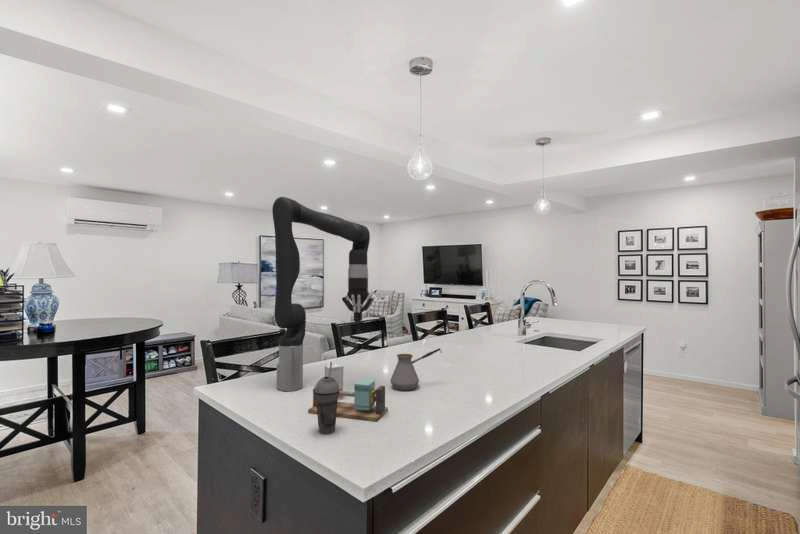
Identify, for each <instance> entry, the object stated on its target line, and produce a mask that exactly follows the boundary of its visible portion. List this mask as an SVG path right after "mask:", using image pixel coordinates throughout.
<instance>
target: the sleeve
mask: <svg viewBox="0 0 800 534" xmlns="http://www.w3.org/2000/svg"><path fill="white" fill-rule="evenodd" d="M375 383H376V382H375V380H368V379H359V380H358V381H356V382H355V383H354V384H353V385H354V391H353V392H354V397H353V398H354V399H353V400H354V409H361V410H370V409H371V408H372V407H373V406H376V401H375V402H374V403H373V404H370V392H371V391H372V390H373V389H376V385H375Z"/></svg>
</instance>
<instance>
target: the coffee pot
mask: <svg viewBox="0 0 800 534" xmlns="http://www.w3.org/2000/svg"><path fill="white" fill-rule="evenodd" d="M437 352H440V353H441V354H443V350H442V349H441V348H440V347H439V348H437V349H434V350H433V351H428V352H427V353H425V354H423V355H422V356H420V357H418V358H416V359H414V360H412V359H413V354H410V353H400V354H398V353H397V355H396V357H397V364H396V365H395V368H394V371H393V373H392V375H391V378H390V384H391V385H392V386H393V387H394V389H396V390H399V391H412V390H414V389H415V388H416V387H417V386H418V385H419V382H420V379H419V377H418V374H417V371H416V370H415V366H414V364H415V363H416V362H417V363H418V361H420V360H423V359H425V358H427V357H430V356H431V355H433V354H435V353H437Z"/></svg>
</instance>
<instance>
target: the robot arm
mask: <svg viewBox="0 0 800 534" xmlns="http://www.w3.org/2000/svg"><path fill="white" fill-rule="evenodd" d="M271 209H272V219H273V220H272V221H273V227H274V228H273V229H274V238H275V239H274V241H275V244H274V245H275V246H274V247H275V273H276V274H275V275H276V277H275V281H276V282H275V303H274V321H275V324H276V325H277V326H278V328H280V329H286V330H285V332H284V333H283V334H282V335H281V336H280V337H279V339H278V363H277V364H276V390H279V391H282V392H294V391H299V390H302V388H303V387H304V384H303V383H304V339H305V336H306V327H307V326H306V325H307V323H306V322H307V315H306V310H305V308H304V306H303V305H302V304H300V303H292V294H293V289H294V286H295V285H296V282H297V280H298V277H299V275H300V271H301V260H300V259H301V257H300V251H299V249H298V245H297V243H296V239H295V237H294V234H293V223H296V224H303V225H306V226H310V227H313V228H315V229H317V230H319V231H322V232H324V233H327V234H330V235H332V236H336V237H340V238H342V239H345V240H346V241H350V242H352V246H351V247H352V249H351V250H349V253H348V270H347V275H348V276H347V277H348V278H347V289H348V291H347V294H346V295H345V296H344V297H343V296H342V297H341V301H342V302H343V303H344V305H345V306H346V308H347V309H348V310H349V311H351V312H352V313H353V321H354V323H357V324H358V323H361V322H362V320H363V312H364V311H367V310H368V309H369V308H370V306H371V305H372V304H373V303H374V301H375V298H374V297H372V296H371V295H370V292H369V289H368V288H369V268H368V251H369V246H370V239H371V234H370V231H369V229H368V227H367V226H365V225H363V224H359V223H356V222H353V221H349V220H346V219H343V218H341V217H339V216H336V215H332V214H329V213H325V212H320V211H316V210H313V209H311V208H309V207H307V206H305V205H303V204H301V203H300V202H298V201H296V200H294V199H292V198H289V197H286V196H280V197H277V198H276V199H275V200H274V202H273V204H272V208H271Z"/></svg>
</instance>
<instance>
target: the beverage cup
mask: <svg viewBox="0 0 800 534" xmlns="http://www.w3.org/2000/svg"><path fill="white" fill-rule="evenodd" d="M332 364H333V361H330V362H329V365H330V369H329V377H325V376H324V377H321V378H320V379H319V380H317V382H316V385H315V387H314V388H315V391H314V393H315V398H316V403H317V414H316V415H317V416H316V417H317V426H318V433H319V434H322V435H331V434H333V433H335V430H336V429H335V428H336V425H337V424H336V423H337V421H336V420H337V417H336V413H337V402H339V401H338V400H339V399H338V396H339V391H340V390H339V386H338V383H337V381H336V380H335V379H334V378H332V377H330V375H331V367H332Z"/></svg>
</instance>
